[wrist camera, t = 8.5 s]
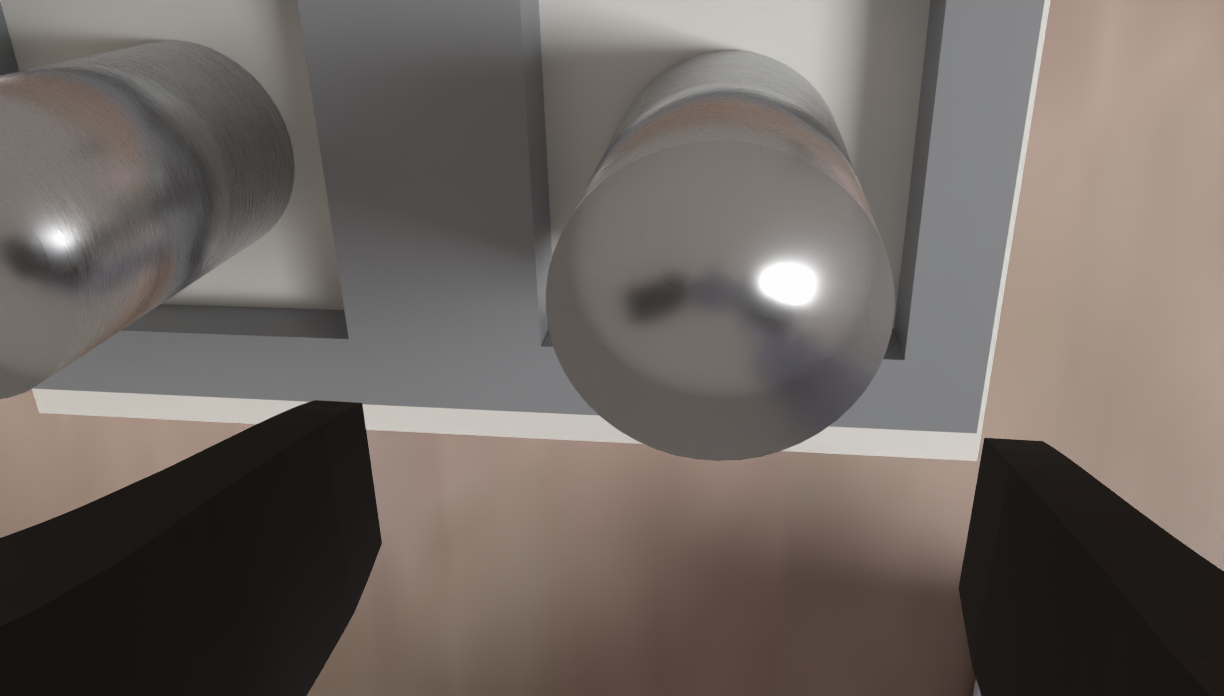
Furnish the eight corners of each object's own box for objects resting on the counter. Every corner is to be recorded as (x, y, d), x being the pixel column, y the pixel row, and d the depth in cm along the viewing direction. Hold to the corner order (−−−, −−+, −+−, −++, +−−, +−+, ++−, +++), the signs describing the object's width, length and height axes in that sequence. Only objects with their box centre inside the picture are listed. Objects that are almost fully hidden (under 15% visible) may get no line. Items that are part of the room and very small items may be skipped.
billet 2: (862, 61, 17) (929, 159, 11) (822, 286, 19) (859, 479, 13) (621, 39, 18) (552, 123, 11) (605, 262, 19) (539, 439, 13)
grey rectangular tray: (1072, -247, 16) (1124, -272, 13) (967, 437, 21) (992, 500, 19) (-108, -193, 19) (-227, -207, 16) (66, 394, 24) (-6, 443, 22)
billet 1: (274, 39, 19) (25, 106, 12) (310, 253, 20) (108, 406, 14) (69, 41, 19) (-269, 104, 13) (121, 248, 21) (-153, 394, 15)
